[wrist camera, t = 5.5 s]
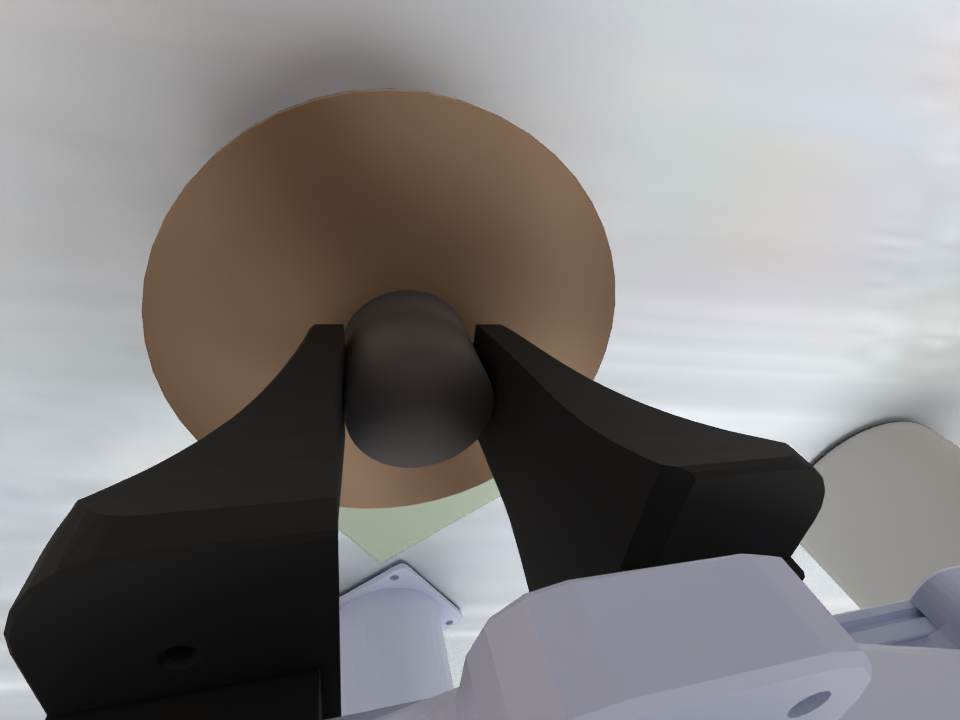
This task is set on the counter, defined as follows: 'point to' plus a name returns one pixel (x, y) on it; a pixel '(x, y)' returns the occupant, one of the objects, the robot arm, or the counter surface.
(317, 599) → the robot arm
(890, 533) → the cylinder vase
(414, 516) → the sage mat
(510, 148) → the walnut lid
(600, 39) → the counter surface
